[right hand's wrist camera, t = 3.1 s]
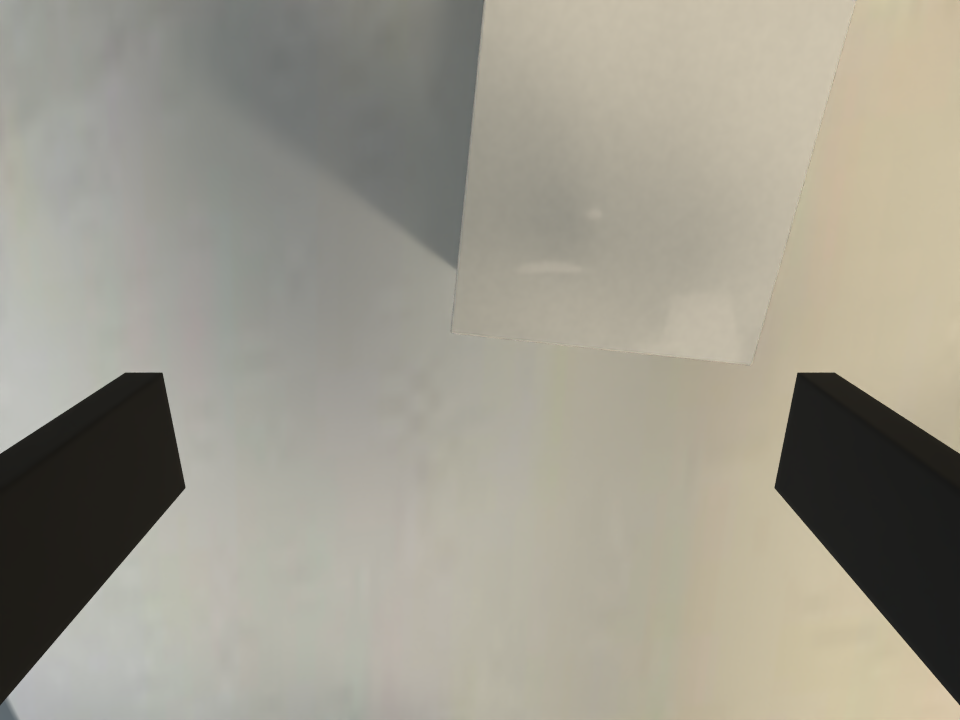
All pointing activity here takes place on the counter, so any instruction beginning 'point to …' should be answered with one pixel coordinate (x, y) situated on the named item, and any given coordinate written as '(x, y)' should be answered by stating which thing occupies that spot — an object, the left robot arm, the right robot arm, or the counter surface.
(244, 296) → the counter surface
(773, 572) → the counter surface
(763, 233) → the cabinet
